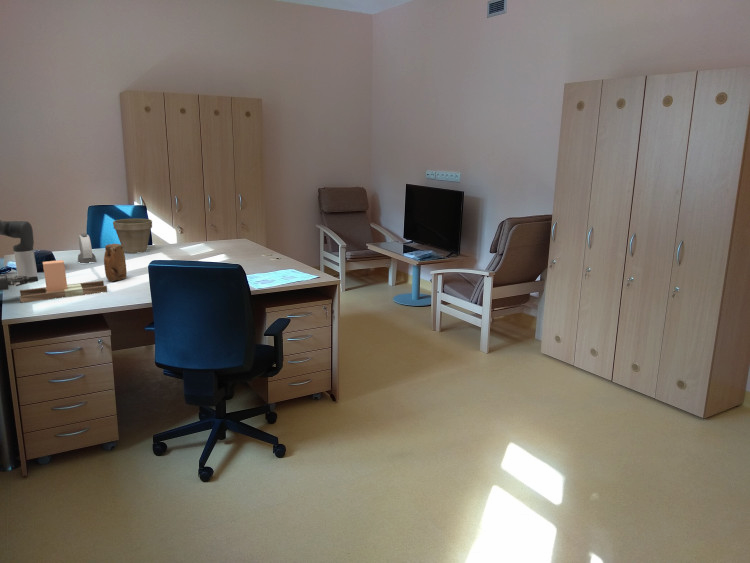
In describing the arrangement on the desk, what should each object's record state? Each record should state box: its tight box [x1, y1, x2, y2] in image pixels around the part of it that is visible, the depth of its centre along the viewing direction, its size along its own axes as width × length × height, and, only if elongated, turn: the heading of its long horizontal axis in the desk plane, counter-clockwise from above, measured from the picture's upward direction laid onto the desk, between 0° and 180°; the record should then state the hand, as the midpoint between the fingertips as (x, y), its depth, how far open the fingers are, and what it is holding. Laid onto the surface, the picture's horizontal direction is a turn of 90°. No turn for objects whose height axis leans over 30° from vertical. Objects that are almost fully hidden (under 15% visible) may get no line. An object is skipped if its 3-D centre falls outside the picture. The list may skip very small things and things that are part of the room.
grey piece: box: [77, 233, 97, 263], centre depth 353 cm, size 16×10×18 cm, turn 34°
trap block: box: [42, 259, 68, 292], centre depth 279 cm, size 6×9×14 cm, turn 122°
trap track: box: [19, 280, 108, 304], centre depth 283 cm, size 14×38×3 cm, turn 122°
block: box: [103, 243, 127, 282], centre depth 309 cm, size 11×8×20 cm
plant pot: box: [112, 218, 153, 254], centre depth 386 cm, size 25×25×22 cm
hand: (37, 278), depth 275 cm, fingers closed
